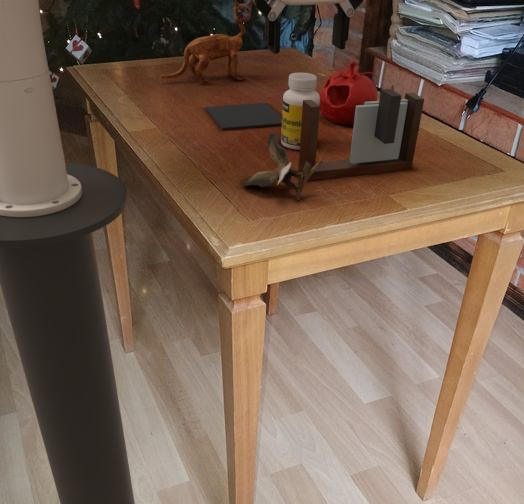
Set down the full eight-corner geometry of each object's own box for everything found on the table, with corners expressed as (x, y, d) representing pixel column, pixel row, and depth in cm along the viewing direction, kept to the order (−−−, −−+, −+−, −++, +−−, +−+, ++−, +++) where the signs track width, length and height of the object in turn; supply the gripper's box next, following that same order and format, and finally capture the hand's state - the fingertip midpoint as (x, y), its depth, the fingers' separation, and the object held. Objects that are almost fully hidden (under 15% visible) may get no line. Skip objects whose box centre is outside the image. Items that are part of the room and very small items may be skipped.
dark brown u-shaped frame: (305, 180, 82) (311, 107, 76) (297, 172, 84) (302, 100, 79) (411, 169, 86) (424, 98, 81) (401, 161, 89) (413, 92, 83)
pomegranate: (359, 108, 108) (366, 50, 102) (385, 126, 101) (394, 65, 95) (307, 112, 106) (311, 53, 100) (330, 131, 98) (336, 69, 92)
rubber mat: (222, 130, 97) (222, 127, 97) (205, 109, 105) (205, 106, 105) (287, 125, 100) (288, 122, 100) (266, 105, 108) (266, 102, 108)
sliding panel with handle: (360, 172, 81) (370, 97, 75) (349, 161, 84) (357, 89, 78) (408, 167, 83) (422, 93, 77) (396, 157, 86) (407, 85, 80)
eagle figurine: (326, 178, 80) (273, 149, 83) (320, 143, 73) (263, 113, 77) (291, 222, 79) (238, 190, 82) (281, 190, 72) (225, 157, 76)
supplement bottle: (273, 143, 93) (276, 75, 87) (297, 135, 96) (301, 68, 90) (299, 153, 90) (304, 83, 84) (323, 145, 93) (329, 76, 87)
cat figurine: (165, 88, 114) (159, 5, 106) (156, 79, 119) (150, -2, 111) (255, 81, 120) (257, 1, 111) (243, 73, 125) (244, -5, 116)
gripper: (256, -103, 70) (255, 60, 80) (392, -102, 74) (374, 51, 85) (237, -106, 75) (238, 46, 86) (365, -105, 80) (351, 39, 90)
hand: (306, 49), depth 85 cm, fingers open, 9 cm apart
